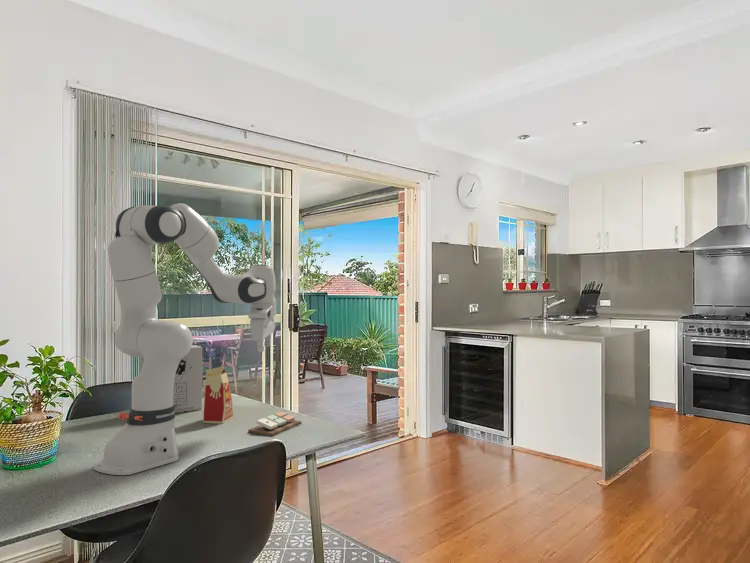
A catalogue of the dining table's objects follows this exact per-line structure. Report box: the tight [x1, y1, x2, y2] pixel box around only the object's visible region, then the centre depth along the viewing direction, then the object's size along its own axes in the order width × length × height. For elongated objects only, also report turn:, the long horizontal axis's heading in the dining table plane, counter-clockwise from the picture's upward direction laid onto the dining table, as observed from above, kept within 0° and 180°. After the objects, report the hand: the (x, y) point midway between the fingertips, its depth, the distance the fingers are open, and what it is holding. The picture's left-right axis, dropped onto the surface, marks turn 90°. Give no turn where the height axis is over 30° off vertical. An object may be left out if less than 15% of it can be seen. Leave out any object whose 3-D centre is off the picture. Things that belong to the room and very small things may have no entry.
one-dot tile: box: [255, 417, 278, 430], centre depth 175 cm, size 4×6×1 cm, turn 65°
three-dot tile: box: [273, 411, 296, 422], centre depth 184 cm, size 4×6×1 cm, turn 65°
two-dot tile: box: [265, 414, 287, 426], centre depth 179 cm, size 4×6×1 cm, turn 65°
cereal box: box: [139, 344, 203, 413], centre depth 204 cm, size 22×8×25 cm, turn 124°
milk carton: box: [202, 365, 234, 425], centre depth 190 cm, size 9×9×20 cm
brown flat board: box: [247, 419, 302, 437], centre depth 179 cm, size 17×10×2 cm, turn 155°
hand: (264, 349), depth 185 cm, fingers open, 8 cm apart
